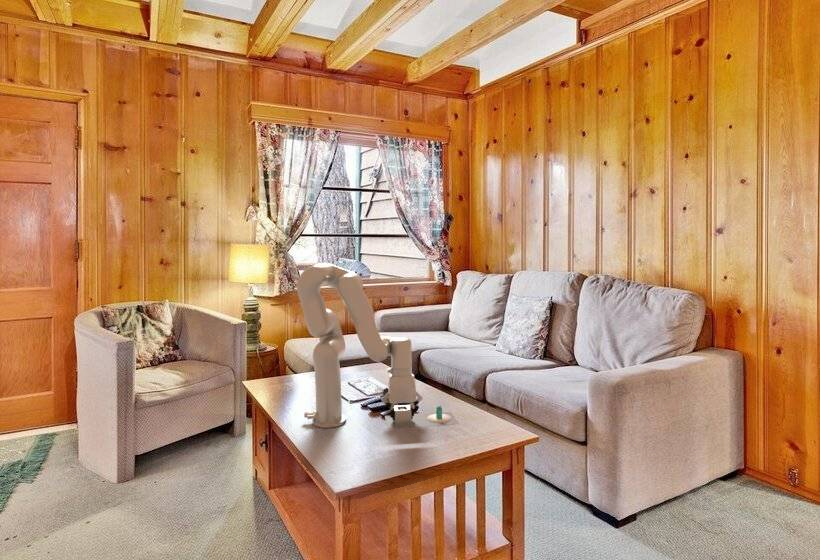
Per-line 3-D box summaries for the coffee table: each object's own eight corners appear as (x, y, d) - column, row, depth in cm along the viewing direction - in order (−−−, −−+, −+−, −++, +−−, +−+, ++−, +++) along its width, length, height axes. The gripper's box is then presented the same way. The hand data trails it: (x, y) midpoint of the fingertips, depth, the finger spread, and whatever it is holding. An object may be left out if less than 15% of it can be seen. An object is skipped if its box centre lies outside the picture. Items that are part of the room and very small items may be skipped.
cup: (398, 412, 202) (398, 393, 201) (380, 411, 203) (380, 392, 203) (402, 406, 209) (402, 387, 208) (385, 405, 211) (385, 386, 210)
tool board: (388, 432, 182) (387, 415, 182) (384, 418, 195) (384, 403, 195) (458, 427, 186) (458, 411, 186) (450, 414, 199) (450, 399, 198)
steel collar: (395, 424, 186) (395, 411, 186) (393, 418, 192) (393, 405, 192) (411, 423, 187) (411, 410, 187) (409, 417, 193) (409, 404, 193)
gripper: (379, 375, 183) (380, 424, 185) (426, 372, 185) (426, 420, 187) (377, 369, 190) (378, 416, 192) (422, 367, 193) (423, 413, 194)
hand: (402, 418), depth 190 cm, fingers closed on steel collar, 6 cm apart
